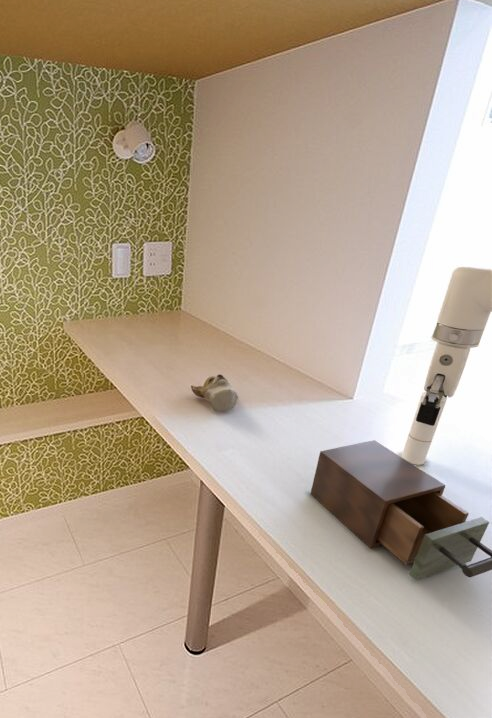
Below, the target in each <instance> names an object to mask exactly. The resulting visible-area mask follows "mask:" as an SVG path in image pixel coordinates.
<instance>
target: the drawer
mask: <svg viewBox="0 0 492 718" xmlns="http://www.w3.org/2000/svg"><path fill="white" fill-rule="evenodd" d="M469 514H470V513H469V511H466V510H465V509H463V508H462V507H461V506H459V505H457V504H456V503H454V502H453V501H452V500H450V499H449V498H447V497H446V496H443V494H442V495H441V494H439V493H438V492H432V493H428V494H425V495H421V496H417V497H413V498H410V499H406V500H402V501H399V502H395V503H391V504H388V507H387V510H386V513H385V516H384V519H383V522H382V525H381V528H380V531H379V534H378V537H377V540H378V541H379V542H380V543H381V544H382V545H381V546H383V547H384V548H386V549H387V550H388V551H389V552H390V553H391V554H392V555H394V556H395V557H396V558H397V559H398V560H400V561H401V562H402V563H403V564H404V565H406V566H407V565H410V564H412V567H411V568H410V571H409V576H410V577H412V578H413V580H415V581H419V580H421V579H424V578H427V577H430V576H433V575H436V574H438V573H441V572H444V571H447V570H449V569H450V570H451V569H453V568H455V567H459V568H460V569H461V571H462V573H463V575H464V576H465V577H467V578H473V577H476V576H479V575H482V574H484V573H487V572H490V571H492V549H490V548H489V547H487V546H486V545H485V544H483V543H482V542H481V541H482V539H483V537H484V535H485V532H486V530H487V528H488V526H489V524H490V521H489V520H487V519H485V518H484V517H482V516H480V517H477V518H474V519H471V520H468V521H466V520H467V519H468V516H469ZM478 549H479V550H481V551H482V552H484V553H485V554H486V555H488V556H489V557H488V558H485V559H482V560H479V561H477V562H474V563H471V564H468V565H467V563H470V562H472V560H473V558H474V555H476V552H477V550H478Z"/></svg>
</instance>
